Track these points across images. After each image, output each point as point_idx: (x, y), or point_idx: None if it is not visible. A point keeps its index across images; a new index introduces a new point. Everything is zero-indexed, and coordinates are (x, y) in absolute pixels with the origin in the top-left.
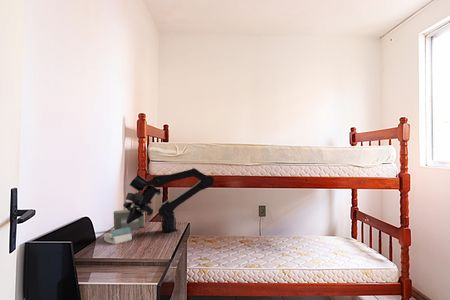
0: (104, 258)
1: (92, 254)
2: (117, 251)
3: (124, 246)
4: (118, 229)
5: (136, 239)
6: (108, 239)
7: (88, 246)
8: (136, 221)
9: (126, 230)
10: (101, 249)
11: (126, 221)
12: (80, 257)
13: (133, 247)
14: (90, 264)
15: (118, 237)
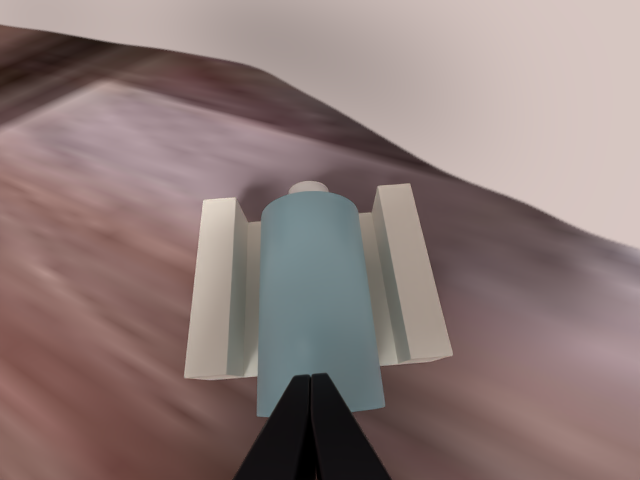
0: (33, 104)
1: (155, 90)
2: (61, 180)
3: (110, 252)
4: (301, 254)
5: (201, 436)
6: (374, 228)
7: (336, 114)
8: None
9: (264, 348)
10: (198, 139)
11: (326, 381)
12: (166, 52)
13: (16, 283)
14: (29, 54)
15: (201, 231)
